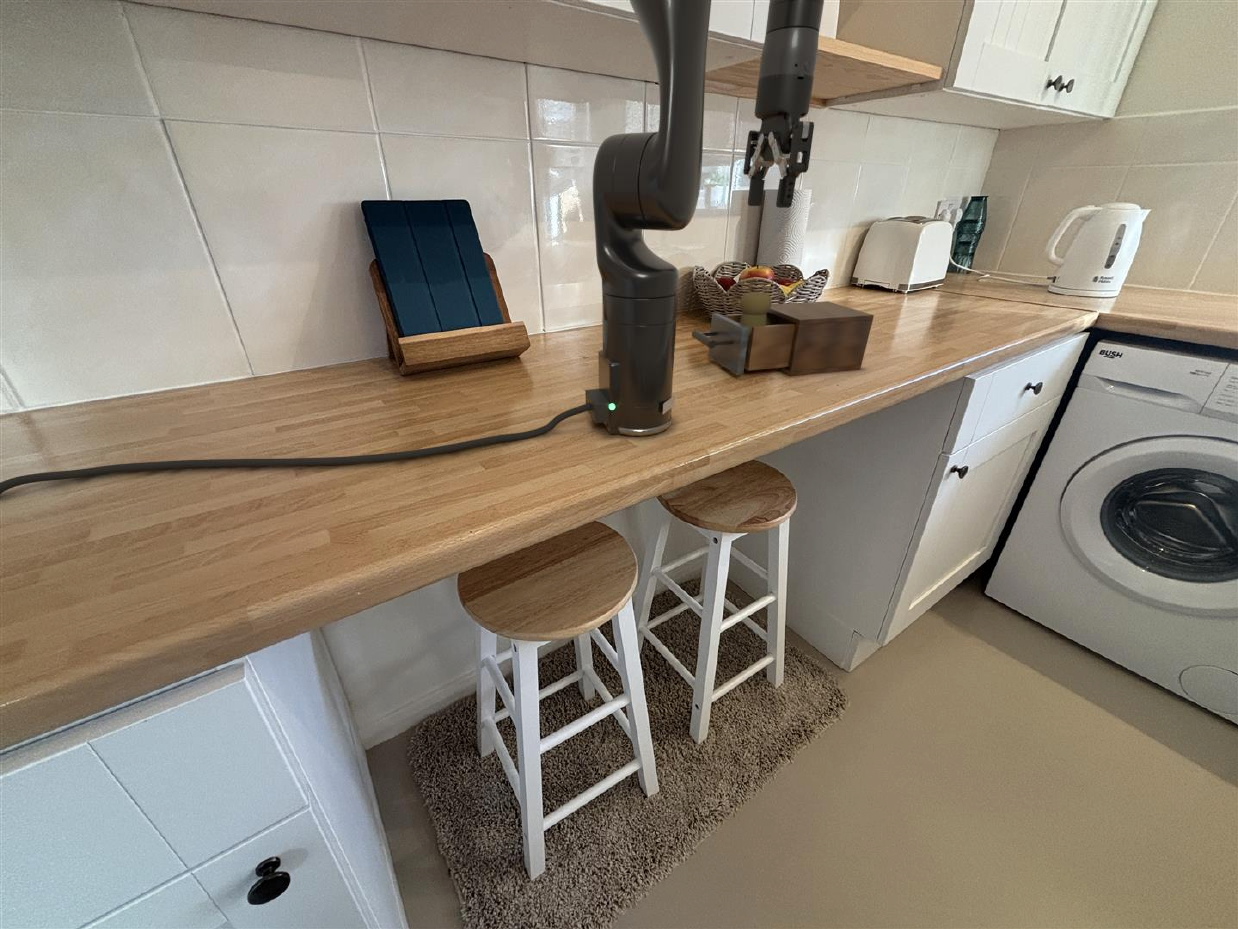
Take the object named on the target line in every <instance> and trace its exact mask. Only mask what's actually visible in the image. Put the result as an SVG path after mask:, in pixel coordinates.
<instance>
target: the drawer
mask: <svg viewBox="0 0 1238 929" xmlns="http://www.w3.org/2000/svg"><path fill="white" fill-rule="evenodd" d="M741 315H742V313H731V314H726V316H725V315H722V314H721V313H719V312H714V313H712V314H711V321H710V331H702V332H700V331H699V330H697V329H695V330H693V331H692V332H691V337H692V338H693V339H695V341H698V342H699V343H701V344H702V345H703V346H705V347H707V348H708V352H707V353H708V354H707V356H708V357H709V358H711V359H712V360H714V361H715V362H716V363H718V364H720V365H721V366H723V367H724V368H726V369H727V370H729V371H730V372H732V373H734V374H735V375H737V376H738V375H744V369H745V370H746V371H749V372H750V371H758V370H769V369H771V370H772V369H777V368H782V367H789V364H790V358H791V352H792V347H793V341H794V336H795V330H796V325H797V324H796V323H794V322H791V321H789V320H786V319H784V318H781V317H779V316H776V315H774V314H771V313H768V312H767V314H766V326H753V327H752V330H751V337H750V345H749V352H748V359H747V361H745V356H746V349H747V341H748V334H749V328H748V327H746V326H744V325H742V324H740V319H741Z"/></svg>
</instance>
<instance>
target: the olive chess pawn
mask: <svg viewBox="0 0 1238 929" xmlns="http://www.w3.org/2000/svg"><path fill="white" fill-rule="evenodd" d="M771 304H772V298H771V295H770V294H768V293H765V292H760V291H750V292H746V293H744V294H742V296H741V298H740V301H739V309H740V311H741V314H742V315H741V319H740V324H742V325H744V326H746V327H748V328H749V334H748V341H747V349H746V356H745V361H747V359H748V352H749V345H750V337H751V330H752V327H753V326H766V314H767V312H768V311H769V310H770V307H771Z"/></svg>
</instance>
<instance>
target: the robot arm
mask: <svg viewBox="0 0 1238 929" xmlns="http://www.w3.org/2000/svg"><path fill="white" fill-rule="evenodd" d="M629 3H630V5H631V7H632V10H633V12H634V14H635V17H636V20H637V21H638V24H639V26H640V29H641V31H642V33H643V35H644V37H645V39H646V42H647V44H648V47H649V50H650V52H651V55H652V58H653V62H654V65H655V69H656V75H657V81H658V93H659V117H658V118H659V119H658V131H648V132H630V133H618V134H613V135H610V136H608V137H606V138H605V139H604V140H603V141H602V143H601V144H600V146H599V147H598V150H597V152H596V155H595V160H594V164H593V170H592V171H593V172H592V206H593V207H592V208H593V220H594V237H595V257H596V258H595V259H596V264H597V269H598V273H599V276H600V278H601V309H602V312H601V318H602V319H601V321H602V322H601V325H602V327H601V328H602V330H601V332H602V349H600V350H599V351H598V356H597V358H598V388H594V389H593V388H592V389H585V403H584V404H582V405H579V406H576V407H572V408H569V409H567V410H564V411H563V412H561V413H559V414H557V415H555V416H554V417H553V418H552V419H551V420H550V421H549V422H548V423H546V424H544V425H543V426H541V427H538V428H534V429H531V430H528V431H522V432H521V431H520V432H515V433H505V434H498V435H492V436H491V435H490V436H487V437H481V438H476V439H471V440H466V441H460V442H457V443H449V444H445V445H439V446H432V447H426V448H425V447H424V448H419V449H411V450H405V451H395V452H386V453H376V454H375V453H374V454H364V455H363V454H362V455H353V456H352V455H351V456H349V455H348V456H328V457H326V456H325V457H295V458H293V457H291V458H224V459H223V458H219V459H218V458H217V459H216V458H215V459H213V458H211V459H210V458H209V459H182V460H179V459H178V460H163V461H162V460H161V461H147V462H128V463H118V464H108V465H102V466H101V465H100V466H94V467H87V468H81V469H71V470H60V471H58V470H57V471H48V472H47V471H46V472H38V473H30V474H24V475H20V476H16V477H15V476H14V477H12V478H9V479H6V480H3V481H0V495H1V494H3V493H4V492H7V491H8V490H11V489H13V488H16V487H19V486H22V485H28V484H33V483H41V482H51V481H62V480H72V479H80V478H88V477H95V476H102V475H109V474H115V473H116V474H117V473H127V472H128V473H129V472H140V471H141V472H143V471H160V470H175V469H176V470H179V469H204V468H205V469H206V468H207V469H208V468H209V469H210V468H261V467H262V468H265V467H266V468H269V467H272V468H273V467H274V468H275V467H276V468H279V467H281V468H282V467H283V468H285V467H316V466H317V467H318V466H341V465H343V466H344V465H357V464H371V463H372V464H373V463H381V462H382V463H383V462H391V461H401V460H408V459H409V460H410V459H416V458H424V457H430V456H435V455H442V454H447V453H454V452H458V451H463V450H468V449H472V448H477V447H482V446H486V445H493V444H497V443H505V442H513V441H521V440H526V439H532V438H536V437H539V436H541V435H544V434H546V433H549V432H550V431H552V430H553V429H555V427H556V426H558V424H560V423H561V422H563V421H564V420H566V419H568V418H571V417H573V416H576V415H580V414H582V413H586V412H588V414H589V416H590V417H591V419H592V421H593V422H594V424H602V425H603V426H604V427H605V429H606V430H607V432H608V433H609V435H618V434H619V435H624V436H631V437H634V436H635V437H636V436H637V437H641V436H643V437H644V436H645V437H646V436H651V435H657V434H660V433H662V432H664V431H666V430H668V429H669V428H670V426H671V424H672V408H673V407H674V406H675V402H676V394H673V383H674V370H675V368H674V366H675V352H676V351H675V349H676V335H677V333H676V332H677V317H678V303H679V289H680V288H679V286H680V272H679V269H678V268H677V267H676V266H675V265H674V264H673V263H671V262H669V261H667V260H665V259H663V258H662V257H660V256H658V255H657V254H656V253H654V251H652V250H651V249H650V248H649V247H648V245H647V244H646V242H645V239H644V235H643V234H644V233H643V231H661V232H663V231H664V232H677V231H681V230H684V229H685V228H686V227H687V226H688V225H689V224H690V223H691V222H692V219H693V218H694V215H695V213H696V209H697V207H698V202H699V197H700V191H701V182H702V174H703V171H702V170H703V156H704V154H703V153H704V122H705V121H704V119H705V96H706V95H705V94H706V93H705V91H706V68H707V54H708V42H709V31H710V20H711V10H712V9H711V8H712V0H629ZM824 4H825V0H769V4H768V10H767V19H766V28H765V36H764V42H763V46H762V49H761V50H762V51H761V56H760V62H759V69H758V70H759V71H758V79H757V80H758V81H757V89H756V96H755V107H754V116H755V118H756V119H758V120H761V125H760V128H759V130H753V129H752V130H749V131H748V134H747V141H746V148H745V156H744V162H743V163H744V164H743V171H742V173H743V175H745V176H747V178H748V179H749V187H748V197H747V205H748V206H749V207H760V206H762V204H763V197H764V191H765V190H764V189H765V182H766V179H765V178H766V176H767V174H768V171H769V169H770V168H772V167H773V166H775V165H777V166H778V169H779V173H780V178H779V182H778V187H777V195H776V201H775V207H776V208H779V209H782V208H783V209H789V208H791V207H792V205H793V201H794V200H793V199H794V195H795V188H796V182H797V179H799V177H800V175H801V174H802V173H807V172H808V170H809V167H810V160H811V151H812V146H813V145H812V144H813V138H814V131H815V130H814V129H815V122H814V121H807V120H801V119H802V118H805V117H807V115H808V114H809V112H810V104H811V99H812V94H813V88H814V87H813V85H814V82H815V81H814V80H815V74H816V66H817V61H818V54H819V53H818V52H819V38H820V37H819V36H820V30H821V23H822V18H823V17H822V16H823V10H824ZM800 153H801V155H800ZM800 158H801V161H800V162H799V160H800ZM751 162H752V164H751Z"/></svg>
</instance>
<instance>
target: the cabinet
mask: <svg viewBox="0 0 1238 929" xmlns="http://www.w3.org/2000/svg"><path fill="white" fill-rule="evenodd" d="M768 313H771V314H774V315H776V316H779V317H781V318H784V319H786V320H789V321H791V322H794V323H796V324H797V325H796V330H795V336H794V341H793V347H792V352H791V358H790V364H789V367H782V368H776V369H777V370H779V371H780V372H782V373H784V374H785V375H787V376H789V377H795V376H803V375H814V374H825V373H836V372H847V371H855V370H861V368H862V365H863V361H864V357H865V352H866V349H867V345H868V341H869V337H870V333H871V329H872V325H873V321H874V317H875V315H874V314H871V313H867V312H865V311H862V310H858V309H855V308H852V307H848V306H845V305H841V304H838V303H835V302H832V301H829V300H827V301H825V300H824V301H808V302H807V301H806V302H792V303H791V302H790V303H771V307H770V310H769V311H768Z"/></svg>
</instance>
